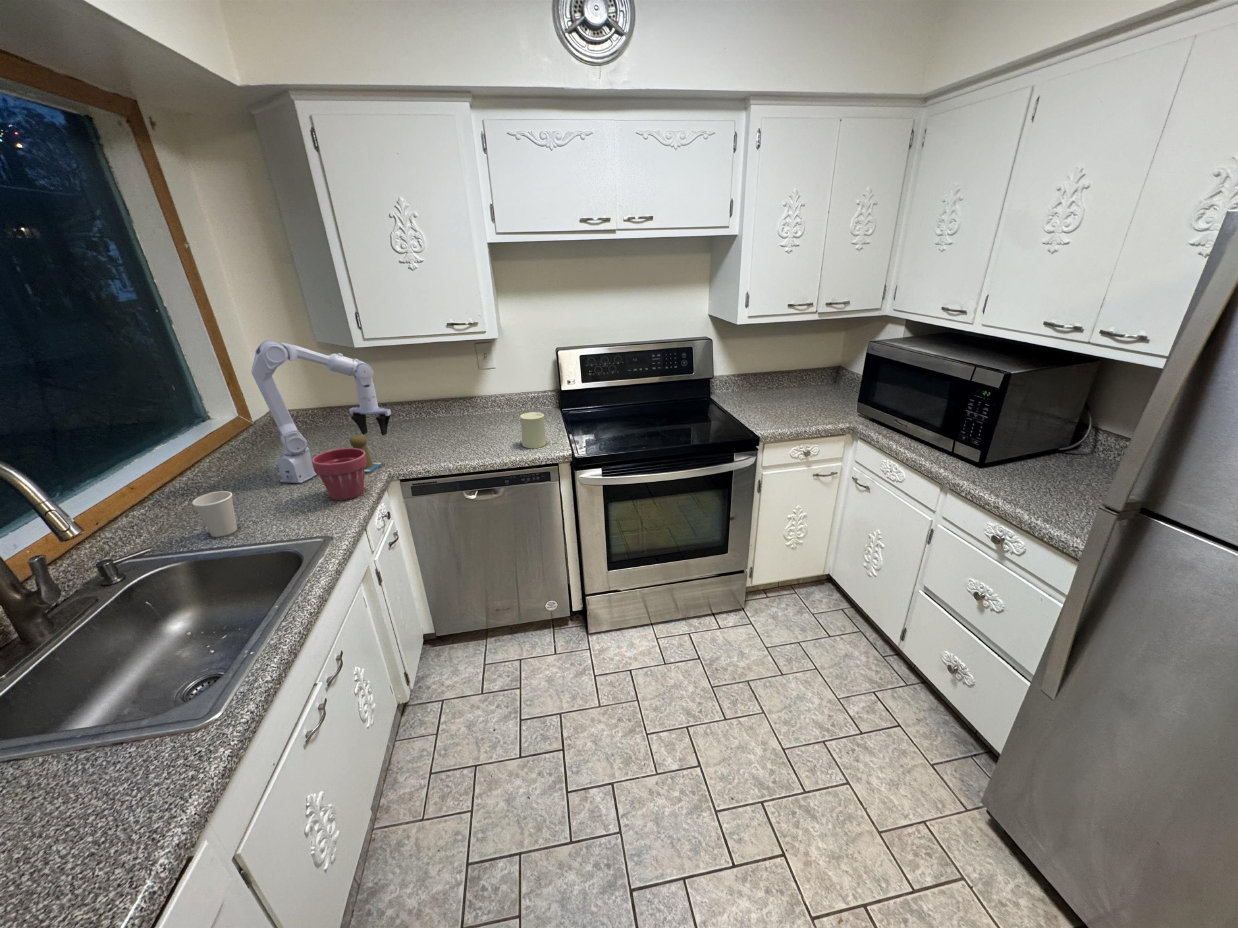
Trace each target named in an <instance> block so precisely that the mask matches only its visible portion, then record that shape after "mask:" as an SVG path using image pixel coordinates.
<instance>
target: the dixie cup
mask: <svg viewBox="0 0 1238 928" xmlns="http://www.w3.org/2000/svg"><path fill="white" fill-rule="evenodd" d="M191 504H192V505H193V506H194V508H195V509H196V511H197V513H198V515H199V516H200V518H201V520H202V522H203V524H204V525H205V527H206V529H207V530H208V532H209V534H210V536H211V537H215V538H220V537H224V536H228V535H231V534H233V533H235V532H236V531H237V530H238V524H237V519H236V513H235V507H234V500H233V493H232V492H231V491H228V490H227V491H226V490H219V491H213V492H209V493H205V494H202V495H200V496H198V497H196V498H194V499H193V500H192V503H191Z"/></svg>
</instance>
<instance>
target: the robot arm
mask: <svg viewBox="0 0 1238 928" xmlns="http://www.w3.org/2000/svg"><path fill="white" fill-rule="evenodd" d="M298 359H300V360H305V361H309V362H312V363H317V364H320V365H324V366H326V368H327V369H328V371H330V372H334V373H337V374H342V375H345V376H349V377H352V376H353V378H354V383H355V390H356V394H357V399H358V404H359V407H351V408H349V409H348V410H349V415H352V416H351V417H350V418H351V420H352V421H353V422H354V423H355V424H356V426H357V427H358V429H359V430H360V432H361V435H366V434H368V425H367V415H369V416H370V415H371V416H372V415H373V416H376V417H375V420H376V421H377V423H378V426H379V430H380V434H381V436H386V435H387V434H388V426H389V422H390V419H391V416H392V411H391V409H390V408H384V407H379V404H378V399H377V393H376V387H375V383H374V380H373V376H374V374H375V370H373V368H372V366H371V365H370V364H368V363H366V362H365V361H362V360H360V359H358V358H355V357H354V358H351V357H347V356H344V353H340V352H337V353H331V354H329V355H327V354H325V353H324V354H323V353H320V352H318V351H314V350H312V349H308V348H306V347H303V346H299V345H296V344H291V343H287V342H278V341H276V340H272V339H268V340H267V339H266V340H264V341H262V342H261V343H260V344H259V345H258V347H257V348H256V349H255V350H254V358H253V363H252V365H251V370H250V371H251V375H252V377H253V379H254V382H255V383H256V385H257V388H258V390H259V391H260V393H261V395H262V398H263V400H264V402H265V405H266V406H267V408H268V410H269V413H270V414H271V416H272V418H273V420H274V422H275V425H276V426H277V430H278V431H279V441H280V443H281V444H282V446H283V447H284V449H283V451H282V454H283V455H282V456H281V457H280V458H279V459H278V460H277V468H278V471H279V475H280V478H281V479H280V480H279V482H280V483H293V484H303V483H305V482H306V481H308V480H311V479H312V478H314V477H316V476H317V475H318V474H316V473H315V472H314V468H313V464H312V459H313V458H312V456H311V455H312V454H311V451H310V448H309V447H308V440H307V439H306V438H305V437H304V436H303V434H302V433H301V431H299V429H298V427H297V425H296V424H295V422H294V420H293V418H292V416H291V414H290V411H289V410H288V407H287V406H286V403H285V401H284V399H283V397H282V395H281V392H280V390H279V388H278V385H277V384H276V382H275V380H274V378H273V375H274V373H275V372H276V371H277V369H278V368H279V367H281V366H282V365H283V364H284V363H286V362H287V360H289V361H290V362H291V361H294V360H298Z"/></svg>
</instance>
